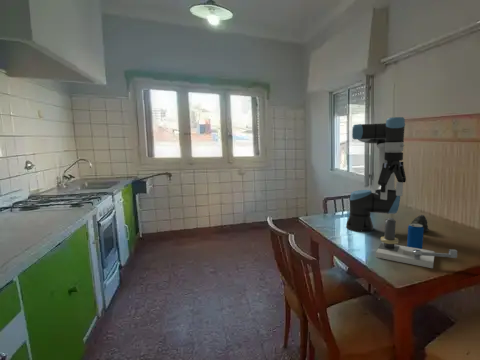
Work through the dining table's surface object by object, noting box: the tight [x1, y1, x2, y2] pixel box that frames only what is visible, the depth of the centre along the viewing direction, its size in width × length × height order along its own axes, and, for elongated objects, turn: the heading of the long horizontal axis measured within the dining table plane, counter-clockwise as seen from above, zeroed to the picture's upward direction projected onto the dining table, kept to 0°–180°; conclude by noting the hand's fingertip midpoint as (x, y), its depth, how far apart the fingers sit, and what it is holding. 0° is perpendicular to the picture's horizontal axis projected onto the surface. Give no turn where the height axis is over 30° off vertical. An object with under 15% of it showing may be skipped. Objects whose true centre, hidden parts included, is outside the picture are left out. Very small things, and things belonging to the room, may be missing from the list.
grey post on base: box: [380, 217, 399, 249], centre depth 138 cm, size 8×8×14 cm
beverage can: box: [406, 222, 424, 249], centre depth 143 cm, size 6×6×12 cm
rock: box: [411, 214, 430, 233], centre depth 170 cm, size 12×10×10 cm
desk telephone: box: [375, 242, 436, 269], centre depth 133 cm, size 22×15×4 cm
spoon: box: [413, 248, 458, 259], centre depth 123 cm, size 3×16×3 cm, turn 76°
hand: (391, 197), depth 136 cm, fingers open, 13 cm apart
